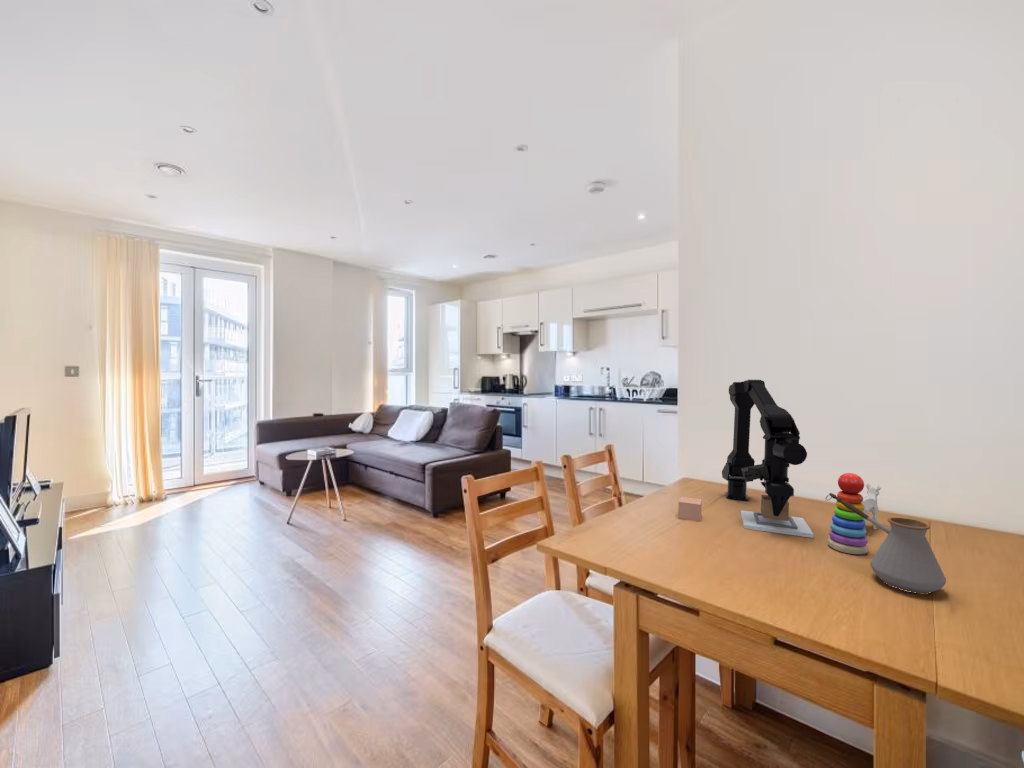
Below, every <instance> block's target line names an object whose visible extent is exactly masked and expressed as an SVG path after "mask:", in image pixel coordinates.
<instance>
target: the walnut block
mask: <svg viewBox="0 0 1024 768" xmlns="http://www.w3.org/2000/svg"><path fill="white" fill-rule="evenodd" d="M760 495H761V496H760V499H761V500H760V501H761V502H760V513H762V516H763V518H769V519H777V520H784V521H788V520H789V516H790V514H789V513H790V512H789V510H790V502H789V500H788V501H787V502H786V504H785V506H784V507H783V509H782V511H781V513H780V514H779V516H774V514H773V508H772V502H771V497H770V496H769V495H768V494H760Z"/></svg>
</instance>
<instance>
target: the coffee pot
mask: <svg viewBox="0 0 1024 768" xmlns="http://www.w3.org/2000/svg"><path fill="white" fill-rule="evenodd" d="M829 496H830V498H829V499H827V498H828V497H829ZM831 499H834V500H836V501H837V502H840V503H842V504H843V505H844V506H845V507H846V508H848V509H849V510H851V511H853V512H854V513H856V514H858V515H859V516H861V517H863V518H864V519H866V520H868V521H869V523H871V524H872V525H873V524H874V525H876V528H879V529H880V530H882V531H883V532H884V533H886V534H887V536H886V537H885V539H884V540H883V542H882V543H881V545H880V546H879V548H878V550H876V552H875V554H874V555H873V557H872V558H871V560H870V562H869V566H870V568H871V569H872V571H873V573H874V574H875V575H876V576H877V577H878V578H879V579H880V580H881V579H882V580H883V581H884V582H885V583H887V584H889V585H891V586H894V587H897V588H900V589H903V590H907V591H911V592H916V593H929V592H932V593H933V592H936V591H937V592H938V591H939V590H940V589H942V588H943V587H945V585H946V583H947V578H946V576H945V575H944V572H943V570H942V568H941V565H940V564H939V562H938V560H937V557H936V555H935V554H934V552H933V549H932V546H931V545H930V543H929V541H928V539H927V537H926V534H927V532H928V530H930V529H931V526H930V525H929V524H927V523H926V522H923V521H921V520H917V519H911V518H905V517H898V516H897V517H889V518H887V521H886V522H888V523H889V524H890V529H889V528H888V527H887V526H884V525H883V524H881V523H880V522H878V520H877V521H875V520H873V517H872V518H871V517H870V516H869V514H868V515H866V514H865V513H863V512H862V511H860V510H859V509H858V508H856V507H855V506H853V505H852V504H850V503H848V502H846V501H844V500H842V498H838V497H837V494H834V493H832V492H829V493H828V494H827V495H826V497H825V501H830V500H831ZM868 521H867V522H868ZM882 580H881V581H882ZM883 581H882V582H883ZM884 582H883V583H884ZM885 583H884V584H885ZM887 584H886V585H887ZM889 585H888V586H889ZM891 586H890V587H891Z"/></svg>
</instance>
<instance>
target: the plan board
mask: <svg viewBox="0 0 1024 768" xmlns="http://www.w3.org/2000/svg"><path fill="white" fill-rule="evenodd" d="M740 516H741V520H742V524H743V525H742V526H743V528H744V529H747V530H753V531H762V532H767V533H775V534H781V535H782V534H783V535H789V536H790V535H791V536H797V537H798V536H799V537H805V538H812V539H814V537H815V534H814V532H813V531H812V529H811V527H810V526H809V525H808V523H807V522H806V520H805V518H803V517H798V516H790V515H789V520H788V521H784V520H777V519H769V518H763V516H762V513H761V512H757V511H750V510H740Z"/></svg>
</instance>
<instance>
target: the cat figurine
mask: <svg viewBox="0 0 1024 768" xmlns="http://www.w3.org/2000/svg"><path fill="white" fill-rule="evenodd" d="M865 487H866V489H867V490H866V495H862V497H863V501H862V502H861V503H862V504H863V505H864V507H865V508H864V510H863V512H864V513H865V514H866V515H868V516H869V513H870V512H871V514H872V519H873V520H875V521H877V522H878V513H879V506H878V496H879V495H880V490H882V487H881V486H880V485H878V486H877V487H873V486H871V485H870V483H869V482H868V483H867V484H865ZM863 520H864V521H865V523H866V524H868V520H866V519H863ZM872 525H873V526H872V527H873V528H872V529H873V530H874V531H875V530H878V527H877V526H876V525H874V524H873V523H872Z"/></svg>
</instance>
